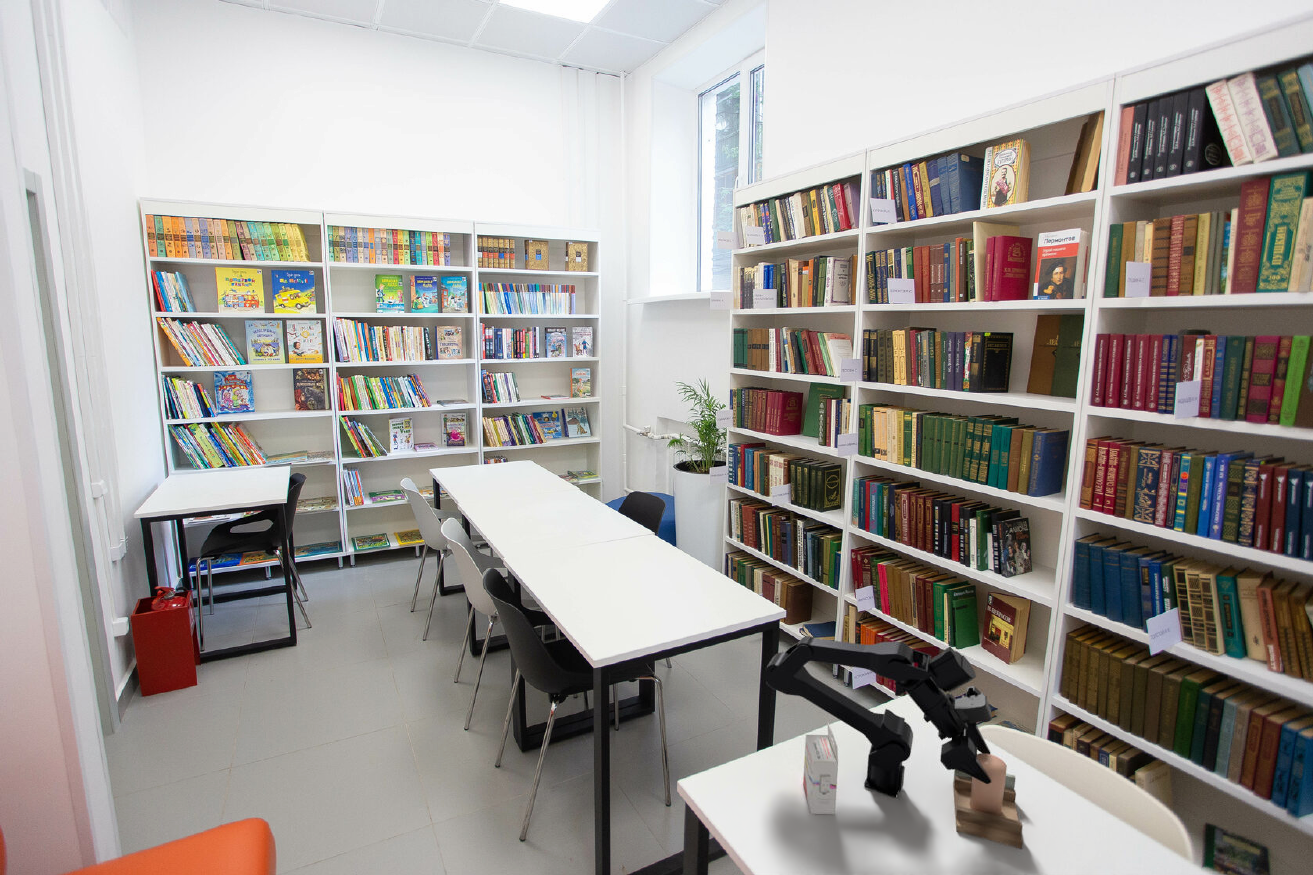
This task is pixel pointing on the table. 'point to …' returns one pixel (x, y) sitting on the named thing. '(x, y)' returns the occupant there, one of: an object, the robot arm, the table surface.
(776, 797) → the table surface
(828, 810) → the ink cartridge box
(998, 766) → the peach pink cylinder
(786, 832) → the table surface
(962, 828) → the walnut shelf
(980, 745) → the robot arm
